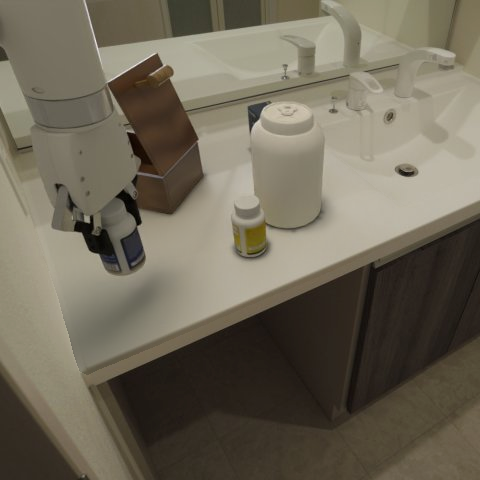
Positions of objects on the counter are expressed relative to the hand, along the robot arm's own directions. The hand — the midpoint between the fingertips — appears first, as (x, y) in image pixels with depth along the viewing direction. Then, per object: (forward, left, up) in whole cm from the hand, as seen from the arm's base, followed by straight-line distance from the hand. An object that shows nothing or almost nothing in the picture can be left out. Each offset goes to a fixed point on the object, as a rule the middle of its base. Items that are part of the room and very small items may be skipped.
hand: (116, 236), depth 54 cm
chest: (-13, +26, -12) cm, 32 cm away
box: (+5, +45, -12) cm, 47 cm away
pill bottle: (0, 0, -5) cm, 5 cm away
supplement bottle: (+12, +15, -12) cm, 23 cm away
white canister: (+15, +27, -12) cm, 33 cm away
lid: (-8, +26, +4) cm, 28 cm away
